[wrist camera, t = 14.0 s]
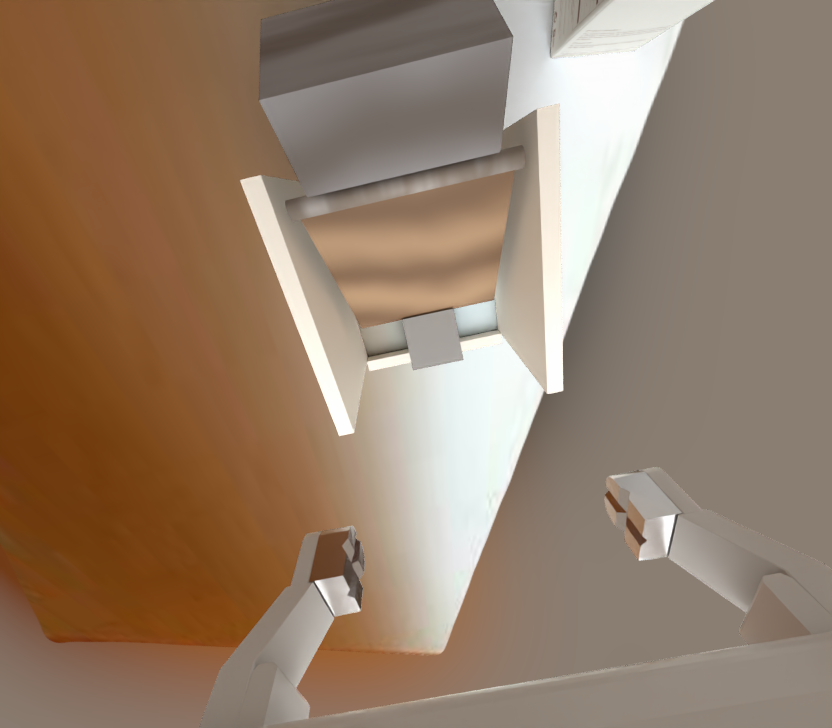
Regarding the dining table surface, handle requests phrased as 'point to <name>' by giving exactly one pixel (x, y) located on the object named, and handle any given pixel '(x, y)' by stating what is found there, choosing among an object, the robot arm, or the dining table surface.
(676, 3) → the supplement box
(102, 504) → the dining table surface
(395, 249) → the trapdoor
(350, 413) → the frame
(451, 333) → the light grey cube
